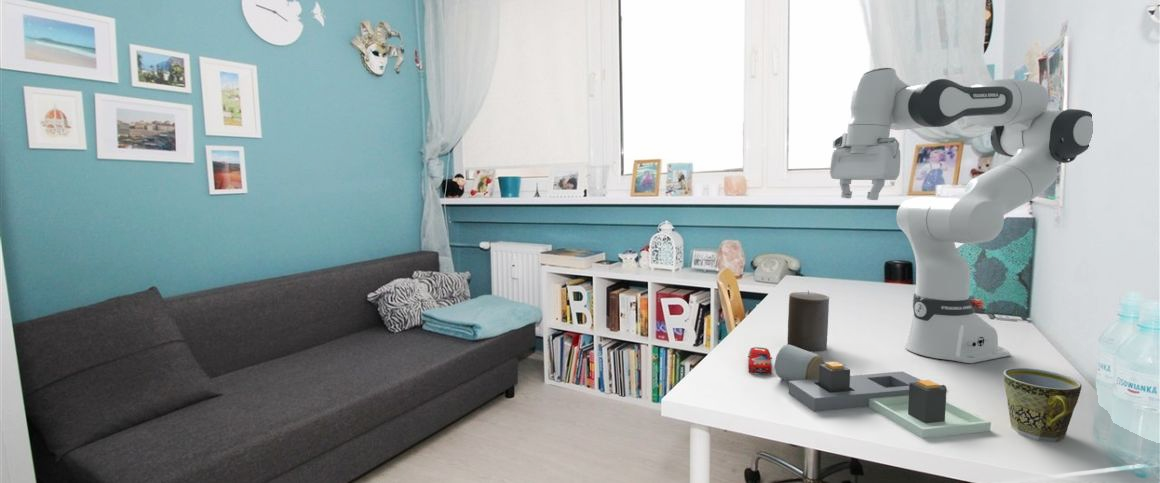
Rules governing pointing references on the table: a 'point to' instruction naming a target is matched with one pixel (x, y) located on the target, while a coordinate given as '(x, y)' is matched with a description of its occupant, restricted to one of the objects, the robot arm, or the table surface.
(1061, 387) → the ceramic cup
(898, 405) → the tray
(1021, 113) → the robot arm
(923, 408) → the plug
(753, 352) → the race car
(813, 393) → the power strip
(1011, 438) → the table surface
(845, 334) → the table surface
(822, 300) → the pillar candle
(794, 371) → the ceramic mug
